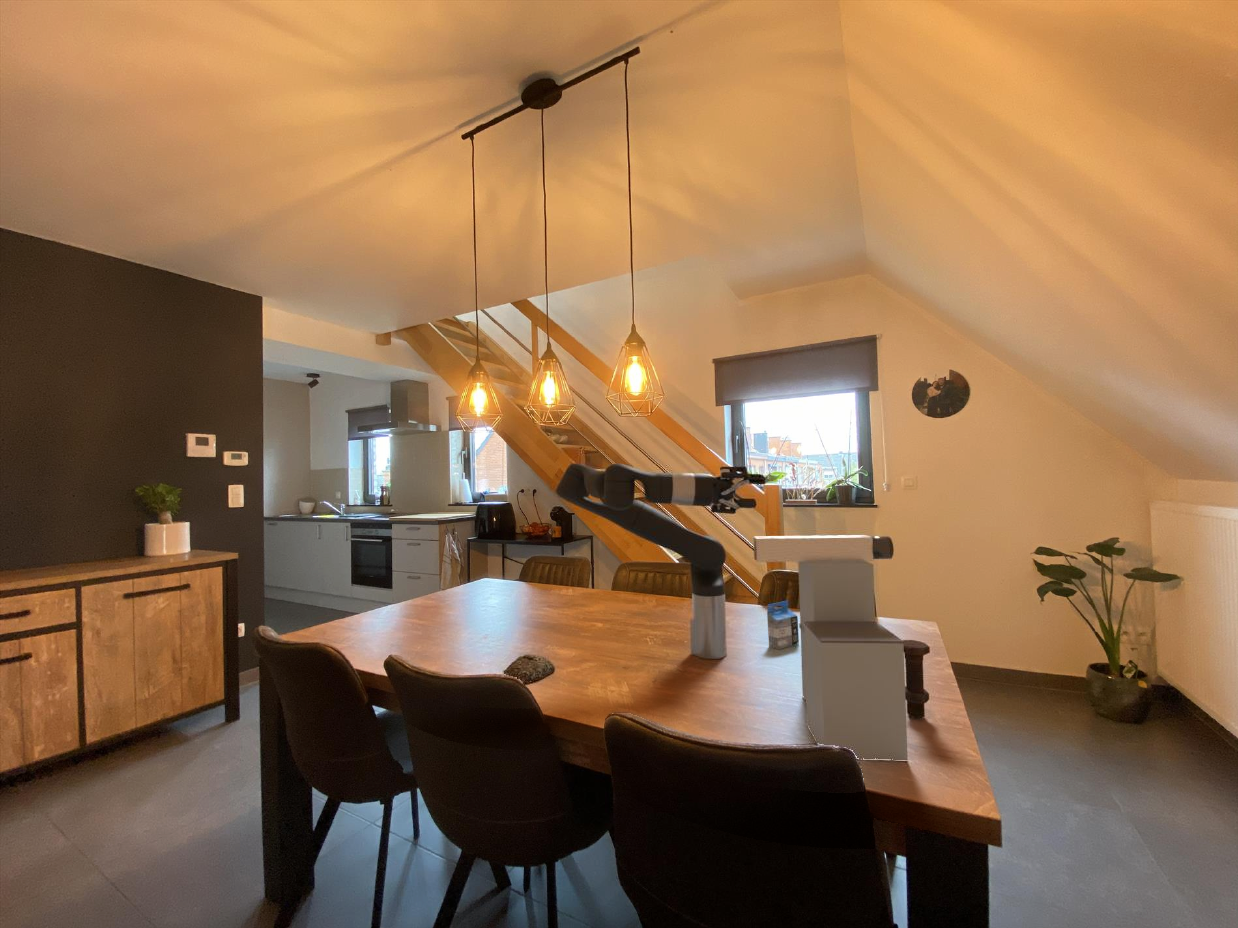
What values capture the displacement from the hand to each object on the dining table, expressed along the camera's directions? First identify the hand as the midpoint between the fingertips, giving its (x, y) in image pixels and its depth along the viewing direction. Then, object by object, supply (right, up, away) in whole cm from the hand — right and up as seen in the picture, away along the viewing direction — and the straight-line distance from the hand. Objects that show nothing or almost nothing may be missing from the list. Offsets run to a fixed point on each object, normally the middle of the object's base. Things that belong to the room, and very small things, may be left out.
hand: (760, 491), depth 119 cm
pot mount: (+13, -46, -15) cm, 50 cm away
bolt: (+29, -46, -13) cm, 56 cm away
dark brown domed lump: (-57, -49, +16) cm, 77 cm away
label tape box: (+16, -47, +32) cm, 60 cm away
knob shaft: (+11, -14, -8) cm, 20 cm away
